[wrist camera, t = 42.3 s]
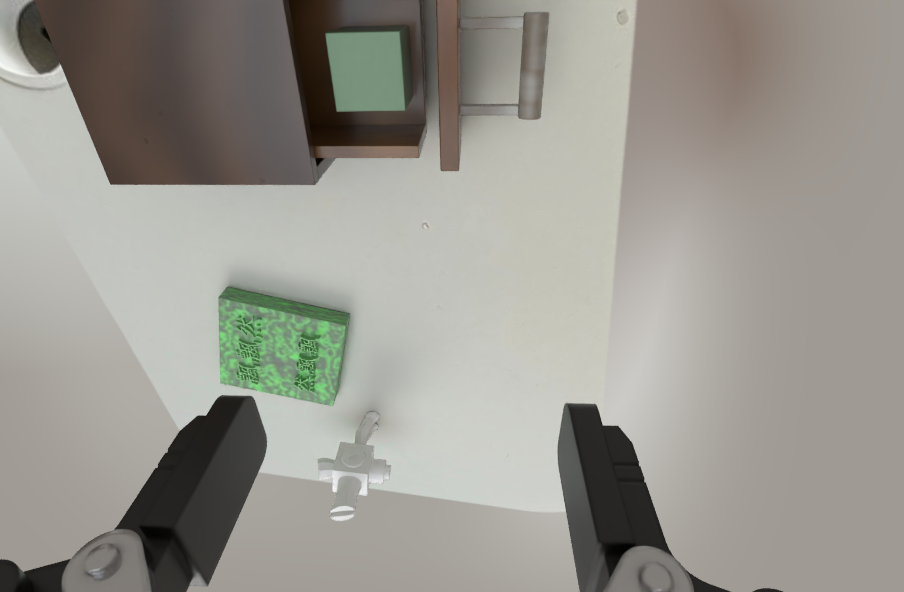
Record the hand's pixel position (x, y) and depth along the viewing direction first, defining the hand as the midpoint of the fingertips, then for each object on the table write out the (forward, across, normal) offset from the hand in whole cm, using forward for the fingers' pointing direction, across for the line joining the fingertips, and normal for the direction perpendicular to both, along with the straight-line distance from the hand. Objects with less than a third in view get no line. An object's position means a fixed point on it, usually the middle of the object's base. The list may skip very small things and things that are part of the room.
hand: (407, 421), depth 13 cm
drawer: (+29, +3, -5) cm, 30 cm away
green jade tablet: (+30, +18, +22) cm, 41 cm away
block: (+28, +5, -5) cm, 29 cm away
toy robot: (+30, +11, +33) cm, 46 cm away
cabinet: (+30, +16, -5) cm, 34 cm away
